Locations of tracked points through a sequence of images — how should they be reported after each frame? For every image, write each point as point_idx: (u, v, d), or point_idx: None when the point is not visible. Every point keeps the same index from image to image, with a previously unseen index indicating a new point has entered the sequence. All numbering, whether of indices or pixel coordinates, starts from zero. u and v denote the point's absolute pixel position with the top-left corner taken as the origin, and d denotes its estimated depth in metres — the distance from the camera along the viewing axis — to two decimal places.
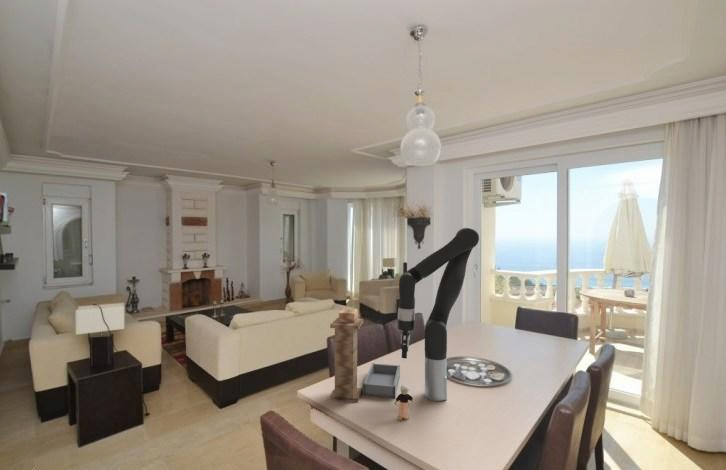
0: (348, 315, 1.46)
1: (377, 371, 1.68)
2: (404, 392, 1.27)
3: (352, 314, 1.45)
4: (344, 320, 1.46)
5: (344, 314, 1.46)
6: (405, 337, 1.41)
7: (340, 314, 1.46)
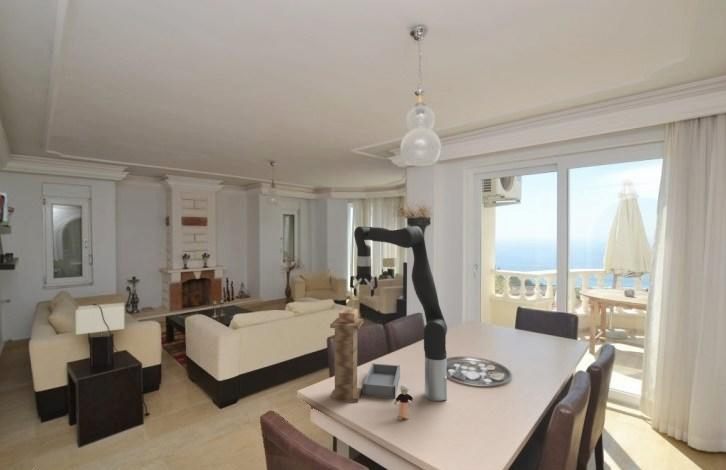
0: (348, 315, 1.46)
1: (377, 371, 1.68)
2: (404, 392, 1.27)
3: (352, 314, 1.45)
4: (344, 320, 1.46)
5: (344, 314, 1.46)
6: None
7: (340, 314, 1.46)
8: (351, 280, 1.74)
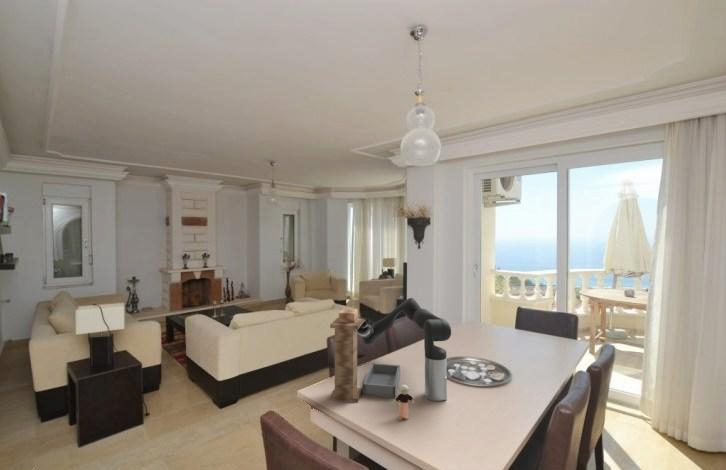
0: (348, 315, 1.46)
1: (377, 371, 1.68)
2: (404, 392, 1.27)
3: (352, 314, 1.45)
4: (344, 320, 1.46)
5: (344, 314, 1.46)
6: (373, 326, 1.76)
7: (340, 314, 1.46)
8: None
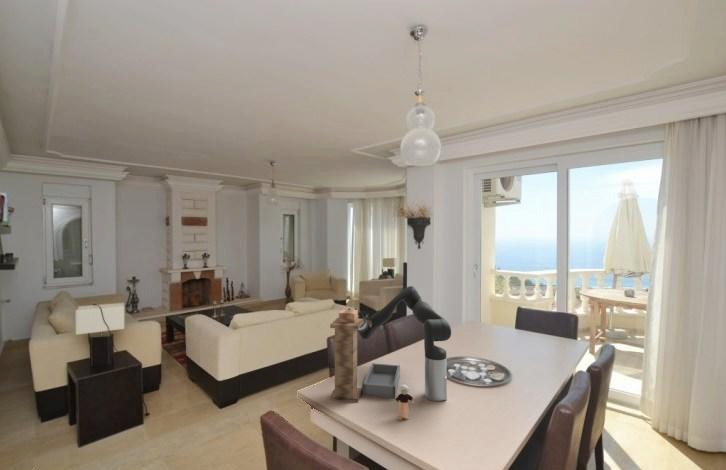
0: (348, 315, 1.46)
1: (377, 371, 1.68)
2: (404, 392, 1.27)
3: (352, 314, 1.45)
4: (344, 320, 1.46)
5: (344, 314, 1.46)
6: (368, 317, 1.63)
7: (340, 314, 1.46)
8: None
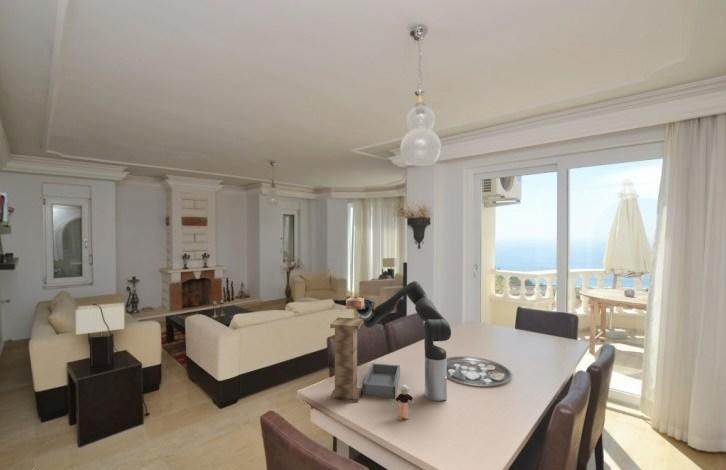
0: (355, 303, 1.55)
1: (377, 371, 1.68)
2: (404, 392, 1.27)
3: (359, 301, 1.55)
4: (351, 307, 1.55)
5: (351, 301, 1.55)
6: (373, 305, 1.72)
7: (348, 301, 1.55)
8: None
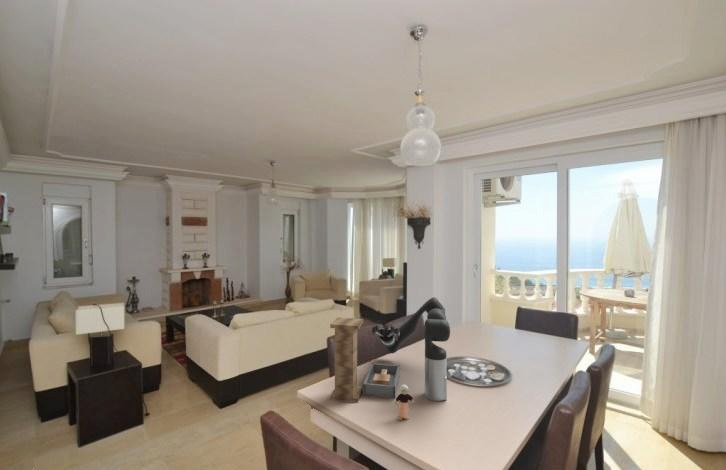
0: (383, 383, 1.50)
1: (377, 371, 1.68)
2: (404, 392, 1.27)
3: (386, 381, 1.50)
4: None
5: (378, 381, 1.50)
6: (399, 334, 1.67)
7: (374, 381, 1.50)
8: None
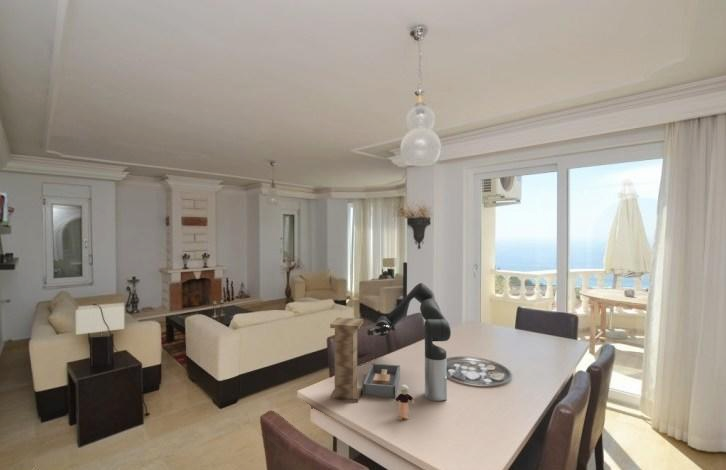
0: (383, 383, 1.50)
1: (377, 371, 1.68)
2: (404, 392, 1.27)
3: (386, 381, 1.50)
4: None
5: (378, 381, 1.50)
6: (394, 327, 1.76)
7: (374, 381, 1.50)
8: (369, 329, 1.76)
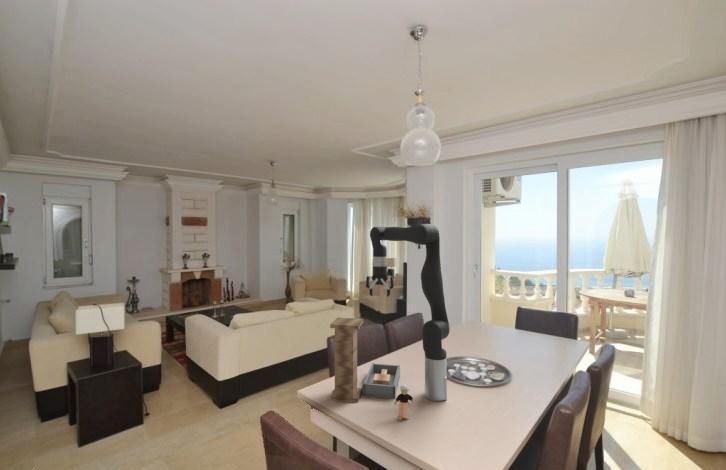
0: (383, 383, 1.50)
1: (377, 371, 1.68)
2: (404, 392, 1.27)
3: (386, 381, 1.50)
4: None
5: (378, 381, 1.50)
6: (392, 277, 1.74)
7: (374, 381, 1.50)
8: (367, 280, 1.75)
